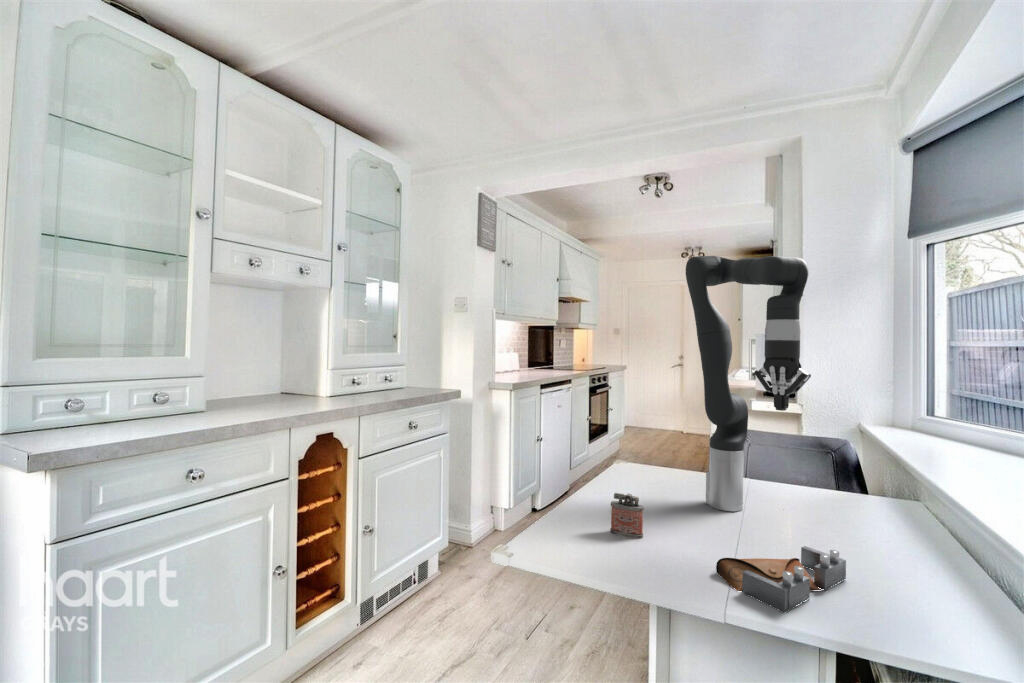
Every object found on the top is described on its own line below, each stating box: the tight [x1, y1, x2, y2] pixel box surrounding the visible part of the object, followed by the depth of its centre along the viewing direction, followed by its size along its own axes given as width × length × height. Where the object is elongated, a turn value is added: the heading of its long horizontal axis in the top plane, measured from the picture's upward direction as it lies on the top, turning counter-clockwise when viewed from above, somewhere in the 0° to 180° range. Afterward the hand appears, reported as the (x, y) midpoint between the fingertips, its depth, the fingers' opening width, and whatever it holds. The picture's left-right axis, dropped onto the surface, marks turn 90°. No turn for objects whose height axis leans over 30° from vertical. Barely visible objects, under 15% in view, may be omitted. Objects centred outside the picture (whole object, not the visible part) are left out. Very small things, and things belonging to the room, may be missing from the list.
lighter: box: [609, 492, 645, 540], centre depth 120 cm, size 8×3×10 cm, turn 65°
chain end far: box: [800, 545, 847, 591], centre depth 99 cm, size 8×9×6 cm
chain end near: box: [741, 566, 811, 613], centre depth 91 cm, size 8×9×6 cm
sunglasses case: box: [715, 557, 821, 592], centre depth 97 cm, size 18×7×7 cm, turn 94°
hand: (780, 410), depth 117 cm, fingers closed
